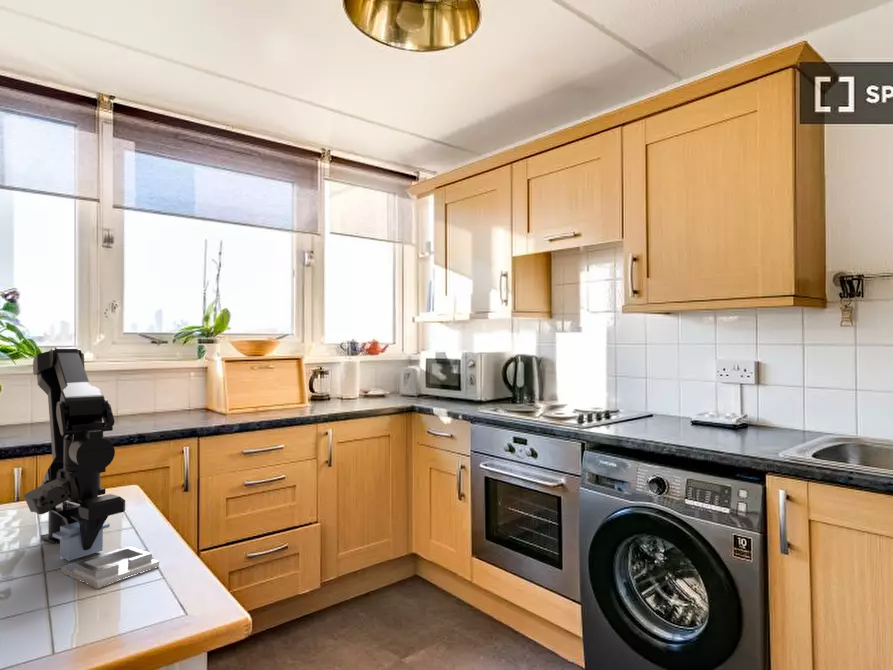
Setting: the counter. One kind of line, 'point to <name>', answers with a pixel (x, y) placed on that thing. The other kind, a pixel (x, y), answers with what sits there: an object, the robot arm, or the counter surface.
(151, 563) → the mount plate
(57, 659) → the counter surface
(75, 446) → the robot arm
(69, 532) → the block
